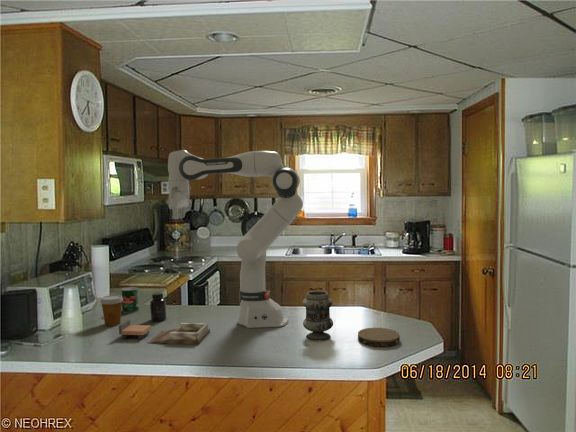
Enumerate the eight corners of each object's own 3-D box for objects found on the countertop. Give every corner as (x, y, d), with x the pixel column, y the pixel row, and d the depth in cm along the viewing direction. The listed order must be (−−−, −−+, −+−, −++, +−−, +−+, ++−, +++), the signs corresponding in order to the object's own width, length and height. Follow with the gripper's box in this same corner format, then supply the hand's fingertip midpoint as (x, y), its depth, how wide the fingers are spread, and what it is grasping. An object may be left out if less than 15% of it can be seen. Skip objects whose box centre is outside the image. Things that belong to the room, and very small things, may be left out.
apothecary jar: (317, 330, 202) (316, 287, 201) (339, 337, 194) (339, 292, 192) (296, 337, 194) (296, 293, 193) (319, 344, 185) (318, 297, 184)
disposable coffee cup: (128, 321, 219) (127, 295, 219) (114, 327, 210) (113, 300, 210) (111, 320, 223) (110, 294, 222) (96, 326, 214) (95, 299, 213)
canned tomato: (123, 313, 233) (122, 290, 232) (120, 309, 240) (120, 287, 239) (140, 311, 237) (139, 289, 236) (137, 307, 244) (136, 286, 243)
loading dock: (210, 334, 202) (209, 322, 202) (199, 347, 187) (198, 334, 187) (161, 333, 205) (160, 321, 204) (146, 345, 190) (145, 332, 190)
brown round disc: (350, 343, 187) (350, 335, 187) (368, 332, 200) (368, 325, 200) (389, 351, 178) (389, 343, 178) (405, 339, 191) (405, 331, 191)
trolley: (151, 333, 202) (150, 320, 201) (143, 340, 194) (142, 326, 193) (128, 333, 203) (127, 320, 203) (119, 339, 195) (118, 325, 195)
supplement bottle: (168, 317, 225) (167, 292, 224) (163, 321, 218) (162, 295, 217) (154, 317, 226) (153, 291, 225) (148, 321, 219) (147, 295, 218)
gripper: (179, 187, 204) (179, 220, 205) (191, 186, 225) (192, 216, 226) (164, 187, 205) (165, 220, 206) (178, 186, 225) (178, 216, 226)
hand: (179, 218), depth 216 cm, fingers open, 8 cm apart
